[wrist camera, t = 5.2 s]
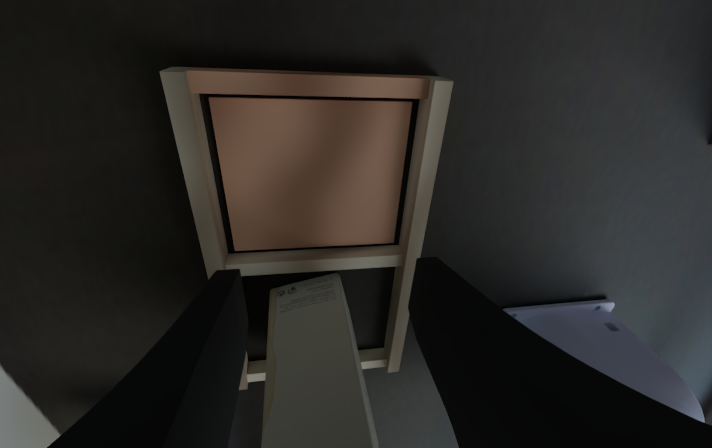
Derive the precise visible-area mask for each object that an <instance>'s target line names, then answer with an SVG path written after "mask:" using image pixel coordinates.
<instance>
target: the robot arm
mask: <svg viewBox="0 0 712 448" xmlns="http://www.w3.org/2000/svg"><path fill="white" fill-rule="evenodd" d="M614 305H615V304H614V302H613V301H611V300H610V299H604V300H593V301H582V302H571V303H559V304H548V305H537V306H526V307H515V308H505V309H501V308H500V307H498V306H497V305H496V304H494V303H493V302H492V301H490V300H489V299H488V298H487V297H485V296H484V295H483V294H482V293H480V292H479V291H478V290H476V289H475V288H474V287H473V286H471V285H470V284H469V283H468V282H467V281H465V280H464V279H463V278H462V277H460V276H459V275H458V274H457V273H456V272H454V271H453V270H452V269H451V268H449V267H448V266H447V265H446V264H444V263H443V262H442V261H441V260H439V259H438V258H437V257H428V258H417V260H416V265H415V270H414V276H413V281H412V287H411V292H410V298H409V303H408V310H409V314H410V318H411V322H412V325H413V329H414V332H415V336H416V339H417V341H418V344H419V346H420V349H421V351H422V354H423V356H424V358H425V361H426V363H427V366H428V368H429V370H430V373H431V375H432V377H433V380H434V382H435V385H436V387H437V389H438V392H439V394H440V396H441V399H442V401H443V404H444V406H445V408H446V411H447V413H448V416H449V419H450V421H451V424H452V427H453V430H454V433H455V436H456V439H457V443H458V446H459V448H712V426H711V425H708V424H706V423H704V416H703V412H702V409H701V407H700V405H699V402H698V400H697V399H696V397H695V395H694V393H693V392H692V390H691V389H690V387H689V386H688V385H687V384H686V382H685V381H684V380H683V379H682V378H681V377H680V376H679V375H678V374H677V373H676V372H675V371H674V370H673V369H672V368H671V367H670V366H669V365H667V364H666V363H665V362H664V361H663V360H662V359H661V358H660V357H659V356H658V355H657V354H655V353H654V352H653V351H652V350H651V349H650V348H649V347H648V346H647V345H646V344H645V343H643V342H642V341H641V340H640V339H639V338H638V337H637V336H636V335H635V334H634V333H633V332H631V331H630V330H629V329H628V328H627V327H626V326H625V325H624V324H623V323H622V322H621V321H619V320H618V319H617V318H616V317H615V316H614V315H613V314H612V313H611V310H612V309H613V307H614ZM248 323H249V320H248V314H247V308H246V302H245V296H244V290H243V284H242V278H241V272H240V269H227V270H216V271H215V272H214V273H213V274H212V276H211V277H210V278H209V280H208V281H207V282H206V284H205V285H204V286H203V288H202V289H201V290H200V292H199V293H198V294H197V295H196V297H195V298H194V299H193V300H192V302H191V303H190V304H189V305H188V307H187V308H186V309H185V310H184V312H183V313H182V314H181V315H180V316H179V317H178V319H177V320H176V321H175V322H174V323H173V325H172V326H171V327H170V328H169V329H168V331H167V332H166V333H165V334H164V335H163V336H162V337H161V339H160V340H159V341H158V342H157V343H156V344H155V345H154V346H153V347H152V348H151V349H150V350H149V352H148V353H147V354H146V355H145V356H144V357H143V358H142V359H141V360H140V361H139V362H138V363H137V365H136V366H135V367H134V368H133V369H132V370H131V371H130V372H129V373H128V374H127V375H126V376H125V377H124V378H123V379H122V380H121V381H120V382H119V383H118V384H117V385H116V386H115V387H114V388H113V389H112V390H111V391H109V392H108V393H107V394H106V395H105V396H104V397H103V398H102V399H101V400H100V401H99V402H98V403H97V404H96V405H95V406H94V407H93V408H92V409H90V410H89V411H88V412H87V413H86V414H85V415H84V416H83V417H81V418H80V419H79V420H78V421H77V422H76V423H75V424H74V425H72V426H71V427H70V428H69V429H68V430H67V431H66V432H65V433H63V434H62V435H61V436H60V437H59V438H58V439H56V440H55V441H54V442H53V443H52V444H51V445H50V446H48V447H47V448H227V446H228V440H229V435H230V430H231V425H232V421H233V416H234V411H235V406H236V401H237V396H238V391H239V387H240V382H241V377H242V372H243V367H244V362H245V356H246V347H247V336H248Z"/></svg>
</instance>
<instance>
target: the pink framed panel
mask: <svg viewBox="0 0 712 448" xmlns="http://www.w3.org/2000/svg"><path fill="white" fill-rule="evenodd" d="M159 72H160V76H161V80H162V85H163V89H164V93H165V97H166V102H167V106H168V110H169V114H170V118H171V123H172V127H173V131H174V135H175V140H176V144H177V148H178V152H179V157H180V161H181V165H182V169H183V174H184V178H185V182H186V186H187V191H188V195H189V199H190V203H191V208H192V212H193V216H194V220H195V225H196V229H197V233H198V237H199V242H200V246H201V250H202V254H203V259H204V263H205V267H206V271H207V276H208V280H209V278H210V277H211V276H212V274H213V273H214V272H215V271H216V270H227V269H240V272H241V276H252V275H268V274H284V273H300V272H315V271H331V270H347V269H363V268H379V267H395V266H396V267H395V274H394V281H393V288H392V295H391V302H390V309H389V316H388V323H387V330H386V337H385V344H384V348H375V349H365V350H358V352H359V357H360V362H361V366H362V369H368V368H376V367H385V366H386V368H387V372H388V373H389V372H397V371H399V367H400V361H401V356H402V351H403V345H404V340H405V335H406V330H407V324H408V319H409V310H408V303H409V298H410V292H411V287H412V281H413V276H414V270H415V265H416V260H417V258H420V256H421V251H422V245H423V240H424V235H425V229H426V224H427V219H428V214H429V208H430V203H431V198H432V192H433V187H434V182H435V177H436V171H437V166H438V161H439V156H440V150H441V145H442V140H443V134H444V129H445V124H446V119H447V113H448V108H449V103H450V98H451V92H452V87H453V82H454V81H451V80H449V79H446V78H443V77H441V76H419V75H392V74H364V73H336V72H308V71H280V70H252V69H224V68H196V67H170V68H167V69H165V70H162V71H159ZM199 93H203V94H245V95H287V96H329V97H371V98H413V99H420V100H419V107H418V114H417V121H416V128H415V135H414V142H413V149H412V156H411V163H410V170H409V177H408V184H407V191H406V198H405V205H404V211H403V218H402V225H401V232H400V239H399V245H386V246H367V247H348V248H328V249H309V250H290V251H270V252H251V253H232V254H228V249H227V243H226V238H225V232H224V227H223V221H222V216H221V211H220V205H219V200H218V194H217V189H216V184H215V178H214V173H213V167H212V162H211V157H210V151H209V146H208V140H207V135H206V129H205V124H204V119H203V113H202V108H201V102H200V97H199ZM209 103H210V109H211V115H212V121H213V127H214V132H215V138H216V144H217V150H218V156H219V162H220V167H221V173H222V179H223V185H224V191H225V197H226V202H227V208H228V214H229V220H230V226H231V232H232V237H233V243H234V249H235V251H244V250H264V249H283V248H303V247H323V246H342V245H362V244H382V243H394V236H395V229H396V221H397V214H398V206H399V199H400V191H401V184H402V176H403V169H404V161H405V154H406V146H407V139H408V131H409V124H410V116H411V109H412V102H411V101H379V100H334V99H289V98H244V97H209ZM265 376H266V360H260V361H250V362H248V357H247V351H246V356H245V362H244V367H243V372H242V377H241V382H240V387H239V390H244V389H247V387H248V382H253V381H262V380H265Z"/></svg>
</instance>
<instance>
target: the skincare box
mask: <svg viewBox="0 0 712 448" xmlns="http://www.w3.org/2000/svg"><path fill="white" fill-rule="evenodd" d="M262 448H379V444H378V439H377V435H376V430H375V426H374V421H373V416H372V412H371V407H370V402H369V398H368V393H367V389H366V384H365V380H364V375H363V371H362V366H361V362H360V357H359V352H358V348H357V343H356V338H355V334H354V329H353V325H352V321H351V316H350V312H349V308H348V305H347V301H346V297H345V293H344V290H343V286H342V283H341V279H340V276H339V274H338V273H332V274H329V275H324V276H320V277H316V278H312V279H308V280H304V281H300V282H296V283H292V284H288V285H284V286H281V287H277V288H273V289H271V290H270V300H269V320H268V338H267V358H266V376H265V395H264V414H263V432H262Z"/></svg>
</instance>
